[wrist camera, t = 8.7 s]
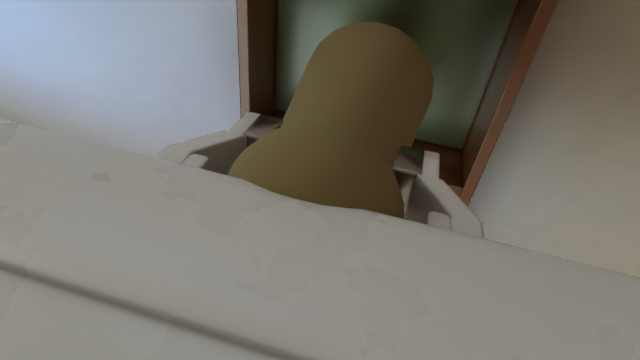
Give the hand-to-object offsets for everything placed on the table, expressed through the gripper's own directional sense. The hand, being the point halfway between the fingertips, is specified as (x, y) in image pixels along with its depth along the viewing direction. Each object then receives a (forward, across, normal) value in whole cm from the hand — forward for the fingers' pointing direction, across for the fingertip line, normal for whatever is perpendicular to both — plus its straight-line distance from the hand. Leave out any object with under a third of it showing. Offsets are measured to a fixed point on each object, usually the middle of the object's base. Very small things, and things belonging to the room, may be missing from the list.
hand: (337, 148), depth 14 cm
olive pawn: (+6, 0, 0) cm, 6 cm away
